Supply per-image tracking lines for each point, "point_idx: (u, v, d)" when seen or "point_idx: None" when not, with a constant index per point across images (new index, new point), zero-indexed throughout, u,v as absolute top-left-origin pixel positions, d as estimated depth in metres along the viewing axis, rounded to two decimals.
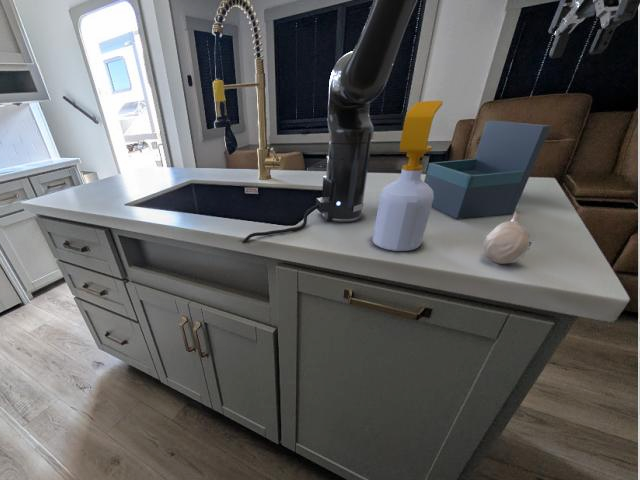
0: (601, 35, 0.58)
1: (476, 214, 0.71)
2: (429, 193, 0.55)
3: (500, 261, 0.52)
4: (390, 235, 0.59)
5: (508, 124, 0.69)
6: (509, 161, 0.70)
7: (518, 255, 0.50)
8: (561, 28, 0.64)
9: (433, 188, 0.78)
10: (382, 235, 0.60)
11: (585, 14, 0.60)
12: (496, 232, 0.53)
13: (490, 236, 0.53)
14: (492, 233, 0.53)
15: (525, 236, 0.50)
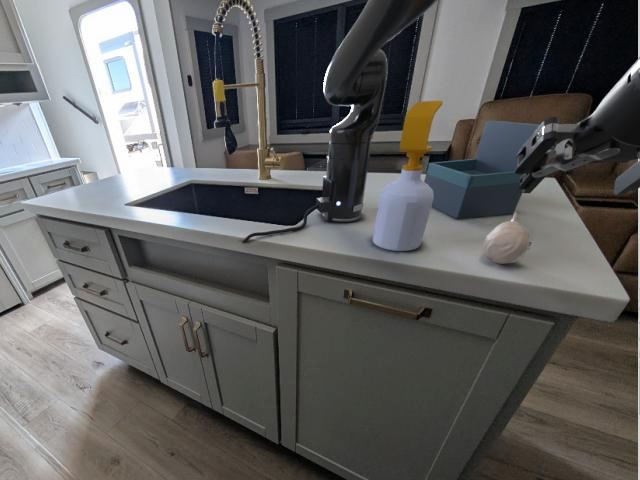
0: None
1: (476, 214, 0.71)
2: (429, 193, 0.55)
3: (500, 261, 0.52)
4: (390, 235, 0.59)
5: (508, 124, 0.69)
6: (509, 161, 0.70)
7: (518, 255, 0.50)
8: None
9: (433, 188, 0.78)
10: (382, 235, 0.60)
11: None
12: (496, 232, 0.53)
13: (490, 236, 0.53)
14: (492, 233, 0.53)
15: (525, 236, 0.50)
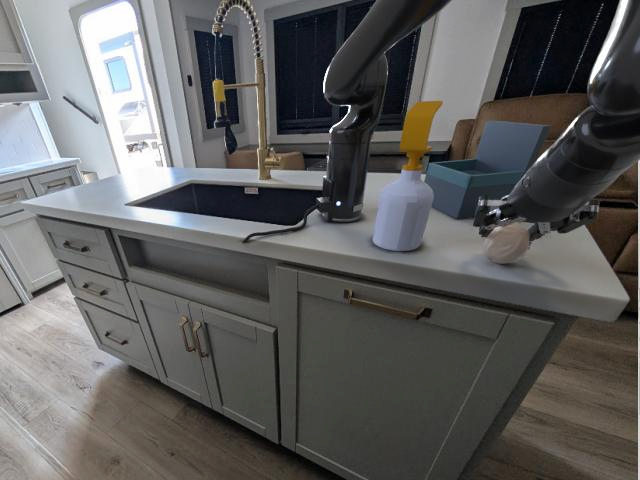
0: None
1: None
2: (429, 193, 0.55)
3: (500, 261, 0.52)
4: (390, 235, 0.59)
5: (508, 124, 0.69)
6: (509, 161, 0.70)
7: (518, 255, 0.50)
8: None
9: (433, 188, 0.78)
10: (382, 235, 0.60)
11: None
12: (496, 232, 0.53)
13: (490, 236, 0.53)
14: (492, 233, 0.53)
15: (525, 236, 0.50)
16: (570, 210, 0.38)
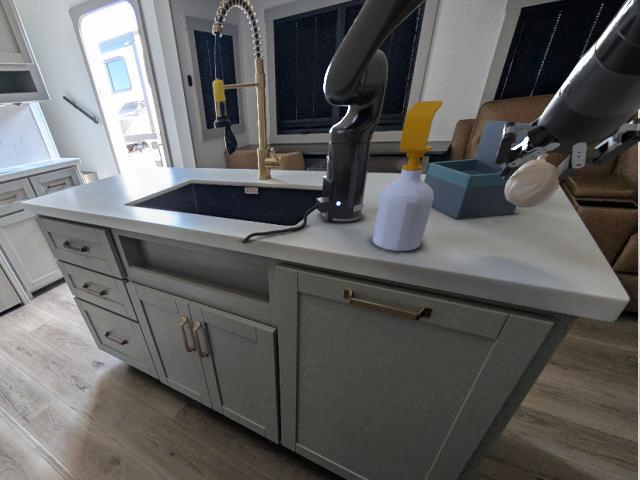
0: None
1: (476, 214, 0.71)
2: (429, 193, 0.55)
3: (525, 203, 0.47)
4: (390, 235, 0.59)
5: None
6: None
7: (546, 195, 0.45)
8: None
9: (433, 188, 0.78)
10: (382, 235, 0.60)
11: None
12: (520, 172, 0.47)
13: (513, 177, 0.48)
14: (515, 174, 0.48)
15: (554, 173, 0.45)
16: (617, 120, 0.33)
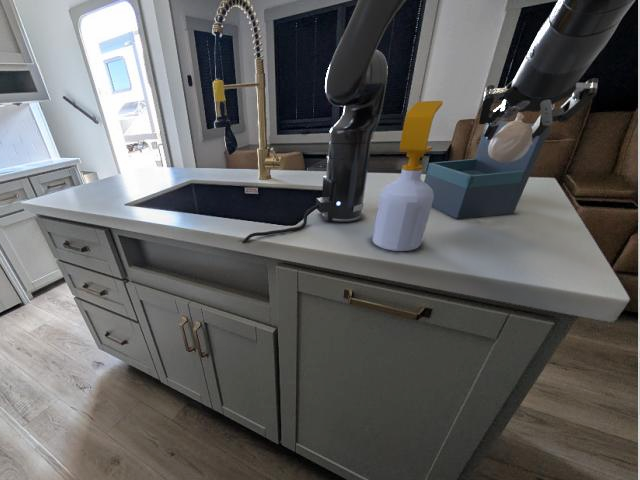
0: None
1: (476, 214, 0.71)
2: (429, 193, 0.55)
3: (504, 158, 0.55)
4: (390, 235, 0.59)
5: None
6: None
7: (521, 149, 0.54)
8: None
9: (433, 188, 0.78)
10: (382, 235, 0.60)
11: None
12: (500, 131, 0.56)
13: (494, 136, 0.56)
14: (497, 133, 0.56)
15: (528, 130, 0.53)
16: (570, 76, 0.42)
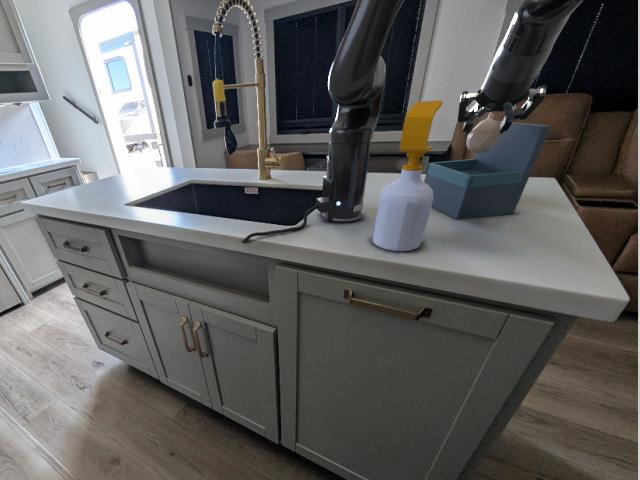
0: None
1: (476, 214, 0.71)
2: (429, 193, 0.55)
3: (479, 149, 0.68)
4: (390, 235, 0.59)
5: None
6: (509, 161, 0.70)
7: (491, 141, 0.67)
8: None
9: (433, 188, 0.78)
10: (382, 235, 0.60)
11: None
12: (475, 128, 0.69)
13: (471, 131, 0.69)
14: (473, 129, 0.70)
15: (497, 126, 0.66)
16: (522, 84, 0.55)
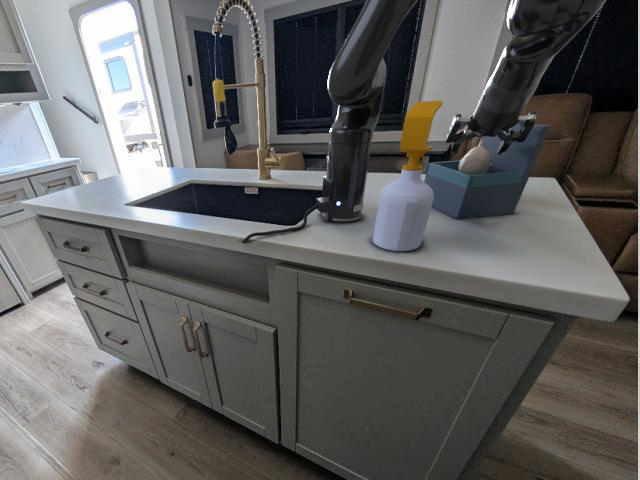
0: None
1: (476, 214, 0.71)
2: (429, 193, 0.55)
3: None
4: (390, 235, 0.59)
5: None
6: (509, 161, 0.70)
7: (482, 169, 0.70)
8: None
9: (433, 188, 0.78)
10: (382, 235, 0.60)
11: None
12: (467, 155, 0.72)
13: (462, 158, 0.73)
14: (464, 156, 0.73)
15: (487, 155, 0.69)
16: (511, 115, 0.57)
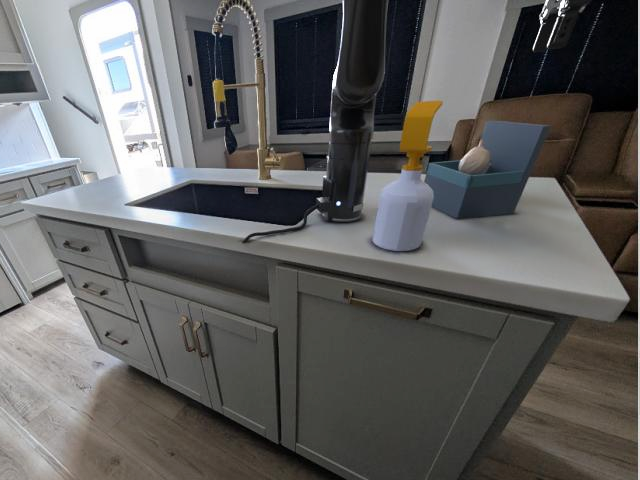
0: (558, 25, 0.45)
1: (476, 214, 0.71)
2: (429, 193, 0.55)
3: None
4: (390, 235, 0.59)
5: (508, 124, 0.69)
6: (509, 161, 0.70)
7: (482, 169, 0.70)
8: (544, 14, 0.51)
9: (433, 188, 0.78)
10: (382, 235, 0.60)
11: None
12: (467, 155, 0.72)
13: (462, 158, 0.73)
14: (464, 156, 0.73)
15: (487, 155, 0.69)
16: None
